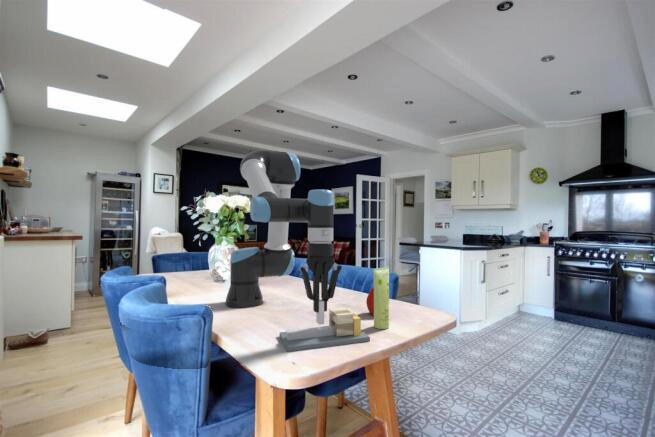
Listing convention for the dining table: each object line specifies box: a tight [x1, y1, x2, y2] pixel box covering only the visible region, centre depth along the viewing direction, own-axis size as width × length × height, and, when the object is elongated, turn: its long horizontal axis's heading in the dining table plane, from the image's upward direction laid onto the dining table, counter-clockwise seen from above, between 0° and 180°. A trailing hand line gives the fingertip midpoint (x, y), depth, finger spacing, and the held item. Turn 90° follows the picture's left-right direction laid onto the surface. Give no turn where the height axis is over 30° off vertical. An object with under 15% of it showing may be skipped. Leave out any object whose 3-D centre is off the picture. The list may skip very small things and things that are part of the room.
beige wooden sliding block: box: [328, 307, 354, 337], centre depth 94 cm, size 7×5×6 cm
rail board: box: [279, 310, 371, 353], centre depth 93 cm, size 12×24×6 cm, turn 109°
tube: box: [372, 266, 390, 330], centre depth 103 cm, size 6×5×20 cm
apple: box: [366, 286, 374, 316], centre depth 118 cm, size 8×8×11 cm
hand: (320, 322), depth 93 cm, fingers closed
